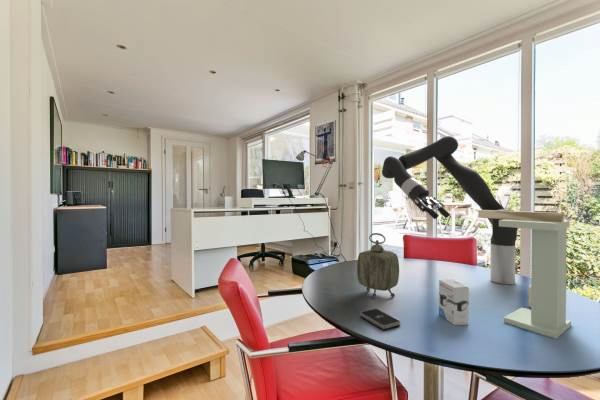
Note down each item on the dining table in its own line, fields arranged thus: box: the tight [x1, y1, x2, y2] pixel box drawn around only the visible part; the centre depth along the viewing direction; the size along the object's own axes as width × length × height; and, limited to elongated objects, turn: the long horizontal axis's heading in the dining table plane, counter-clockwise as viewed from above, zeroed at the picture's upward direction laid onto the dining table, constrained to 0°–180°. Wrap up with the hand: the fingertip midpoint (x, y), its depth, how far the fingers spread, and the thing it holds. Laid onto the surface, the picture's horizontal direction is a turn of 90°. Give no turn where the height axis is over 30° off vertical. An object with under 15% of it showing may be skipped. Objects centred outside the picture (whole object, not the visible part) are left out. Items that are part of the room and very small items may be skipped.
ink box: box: [438, 279, 470, 326], centre depth 90 cm, size 8×5×12 cm, turn 5°
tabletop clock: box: [356, 232, 400, 298], centre depth 111 cm, size 14×9×25 cm, turn 47°
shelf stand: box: [499, 219, 572, 339], centre depth 87 cm, size 14×14×32 cm
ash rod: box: [477, 209, 565, 222], centre depth 91 cm, size 3×22×3 cm, turn 34°
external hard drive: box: [360, 308, 401, 332], centre depth 89 cm, size 7×11×2 cm, turn 26°
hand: (442, 216), depth 111 cm, fingers open, 8 cm apart
